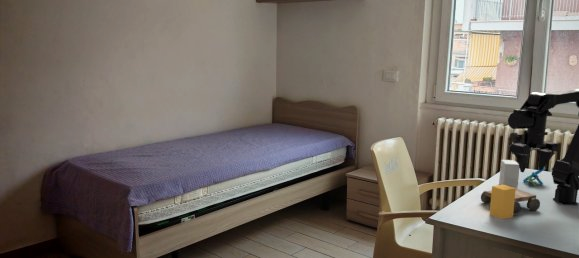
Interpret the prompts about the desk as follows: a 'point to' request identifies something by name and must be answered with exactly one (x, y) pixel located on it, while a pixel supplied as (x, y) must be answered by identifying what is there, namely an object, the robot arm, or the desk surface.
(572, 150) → the robot arm
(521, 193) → the dolly
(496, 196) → the yellow upright rectangular block
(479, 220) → the desk surface
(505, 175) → the small box
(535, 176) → the blue angled frame
